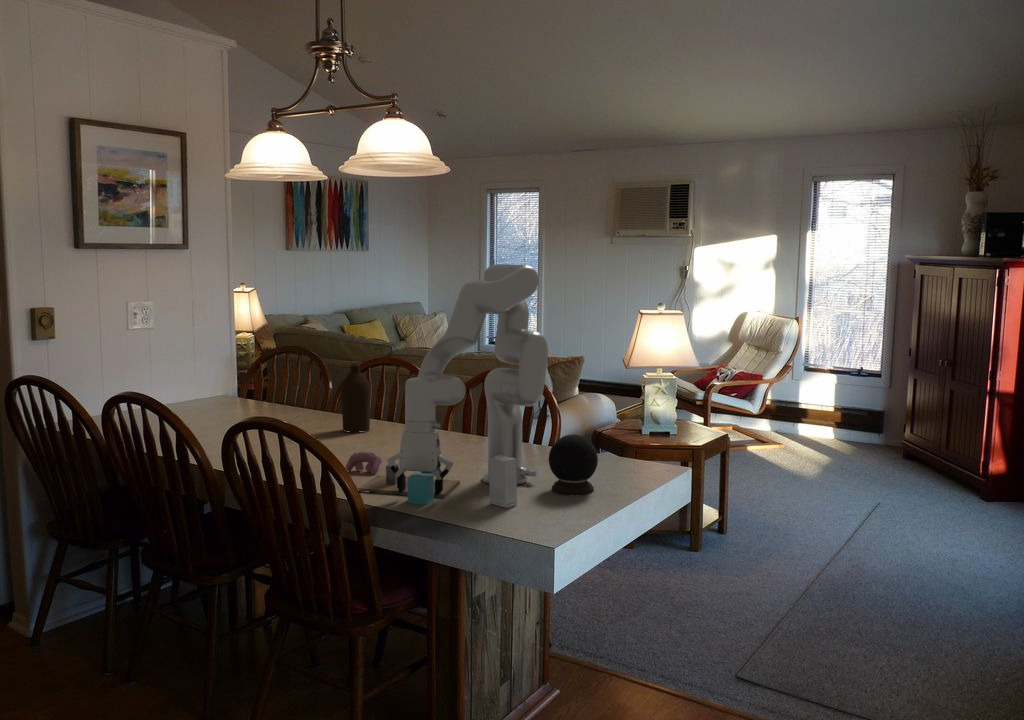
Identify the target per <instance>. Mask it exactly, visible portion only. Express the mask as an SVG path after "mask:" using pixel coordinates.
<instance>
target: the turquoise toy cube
mask: <svg viewBox="0 0 1024 720" xmlns="http://www.w3.org/2000/svg"><path fill="white" fill-rule="evenodd" d="M407 477H408V495H407V504H411V505H412V504H414V505H425V506H426V505H429V504H430V503H431V502H432V501H434V500H435V497H434V479H435V475H434V474H427V473H421V472H414V473H412V474H410V475H409V476H407Z"/></svg>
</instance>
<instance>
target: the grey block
mask: <svg viewBox="0 0 1024 720" xmlns="http://www.w3.org/2000/svg"><path fill="white" fill-rule="evenodd" d="M395 464H396V465H397V466H398V467H399V468H400V465H399V463H395ZM385 476H386V484H392V485H396V484H397V477H396V475H395V473H394V472H393V471H392V470H391V467H390V466H389V463H388V464H387V465H386V466H385Z"/></svg>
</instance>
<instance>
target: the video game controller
mask: <svg viewBox="0 0 1024 720" xmlns="http://www.w3.org/2000/svg"><path fill="white" fill-rule="evenodd" d="M363 463H367V464H366V465H364V464H363ZM381 463H382V458H381V457H380V456H379V455H378V454H376V453H373V452H369V451H359V452H354V453H353V454H352V455H350V457H349V458H348V461H347V463H346V464H345V467H346V469H347V470H348V471H350V472H351V471H352V470H353V469H354V468H355V470H356V471H357V470H358V471H357V472H360V471H359V470H362V471H363V470H365V471H366V472H368V471H372V472H371V475H372V474H375V473H376V474H377V473H378V471H379V469H380V466H381ZM364 466H365V467H364ZM376 474H375V475H376Z"/></svg>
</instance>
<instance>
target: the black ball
mask: <svg viewBox="0 0 1024 720" xmlns="http://www.w3.org/2000/svg"><path fill="white" fill-rule="evenodd" d="M598 462H599V459H598V452H597V449H596V447H595V445H594V444H593V443H592V442H591V441H590V440H589V439H588V438H586V437H584V436H583V435H578V434H568V435H564V436H561V437H560V438H558V439H557V440H556V441H555V442H554V443H553V444H552V446H551V448H550V450H549V453H548V464H549V469H550V470H551V473H552V474H553V475H554V476H555V478H556V479H558V480H557V481H555V482H554V483H553V484H552V486H551V491H552V492H553V491H554V493H555V494H558V495H562V496H569V495H574V496H575V497H577V496H576V495H580V496H586V494H587V495H590V494H592V493H593V492H594V490H595V488H594V486H593V484H592V483H591V482H590V481H588V480H589V479H590V478H591V477H592V476H593V475H594V474H595V472H596V471H597V467H598ZM589 493H590V494H589ZM574 496H573V497H574Z"/></svg>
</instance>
